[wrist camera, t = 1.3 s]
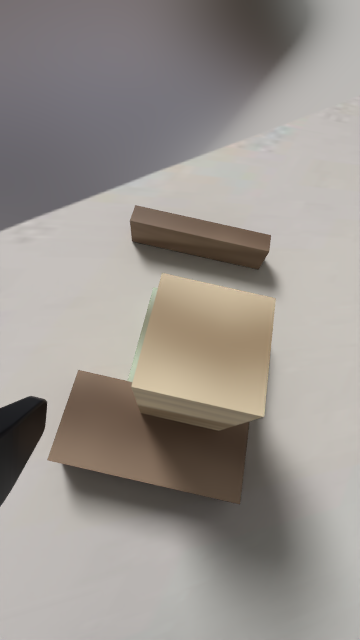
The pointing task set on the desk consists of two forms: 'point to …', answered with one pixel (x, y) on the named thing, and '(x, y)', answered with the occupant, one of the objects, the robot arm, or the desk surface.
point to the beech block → (205, 354)
